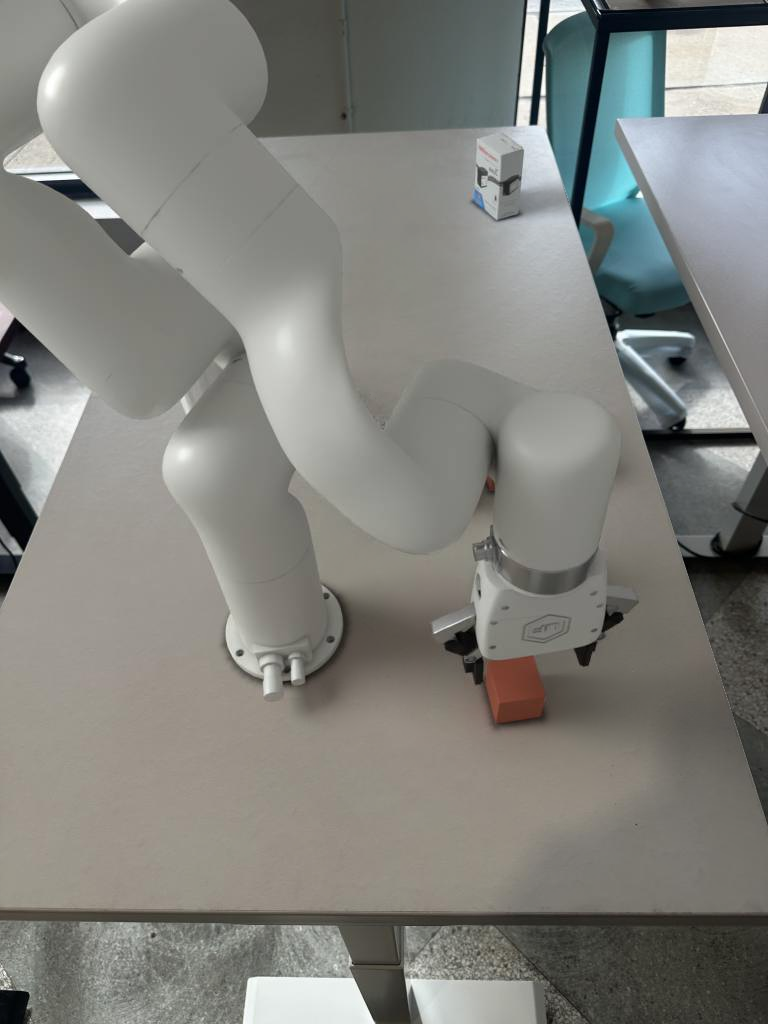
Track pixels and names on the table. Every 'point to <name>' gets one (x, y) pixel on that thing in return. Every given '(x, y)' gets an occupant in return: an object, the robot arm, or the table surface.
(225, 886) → the table surface
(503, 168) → the ink box
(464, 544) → the table surface
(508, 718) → the terracotta block
